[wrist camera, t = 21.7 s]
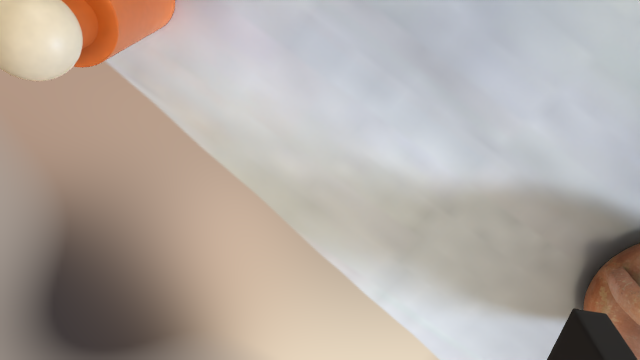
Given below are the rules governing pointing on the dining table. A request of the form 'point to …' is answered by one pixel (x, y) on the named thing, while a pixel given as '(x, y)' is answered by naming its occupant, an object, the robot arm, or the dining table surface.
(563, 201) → the dining table surface
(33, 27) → the skittle
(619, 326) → the ceramic jug
